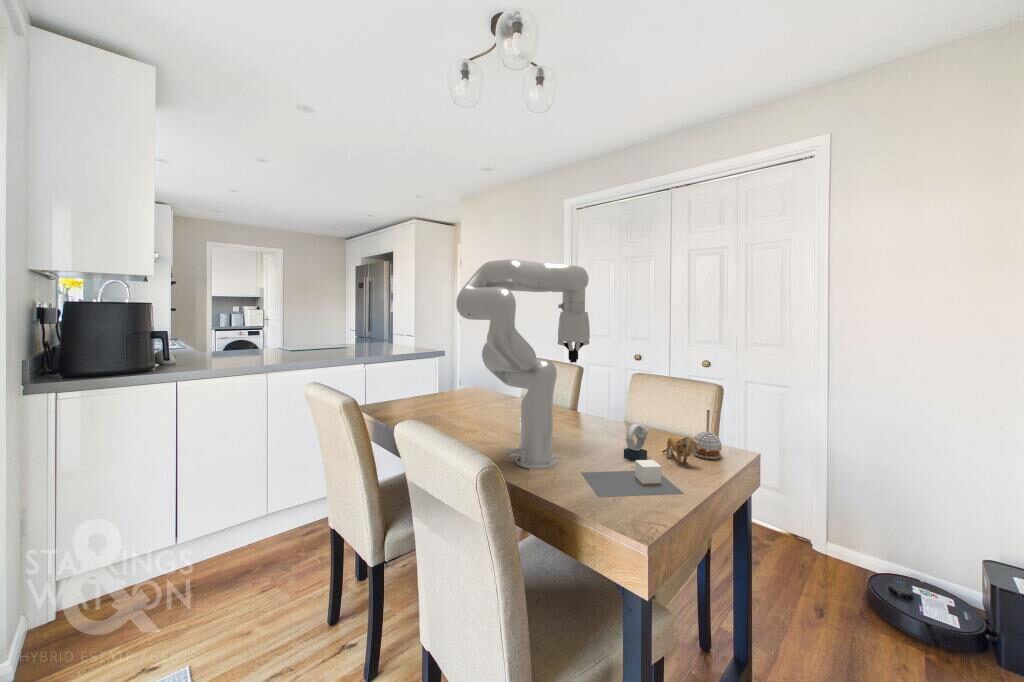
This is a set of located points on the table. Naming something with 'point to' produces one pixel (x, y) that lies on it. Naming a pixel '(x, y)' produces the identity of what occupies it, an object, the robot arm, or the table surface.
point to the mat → (626, 484)
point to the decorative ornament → (708, 443)
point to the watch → (636, 451)
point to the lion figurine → (681, 448)
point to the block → (648, 472)
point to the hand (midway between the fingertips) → (573, 362)
